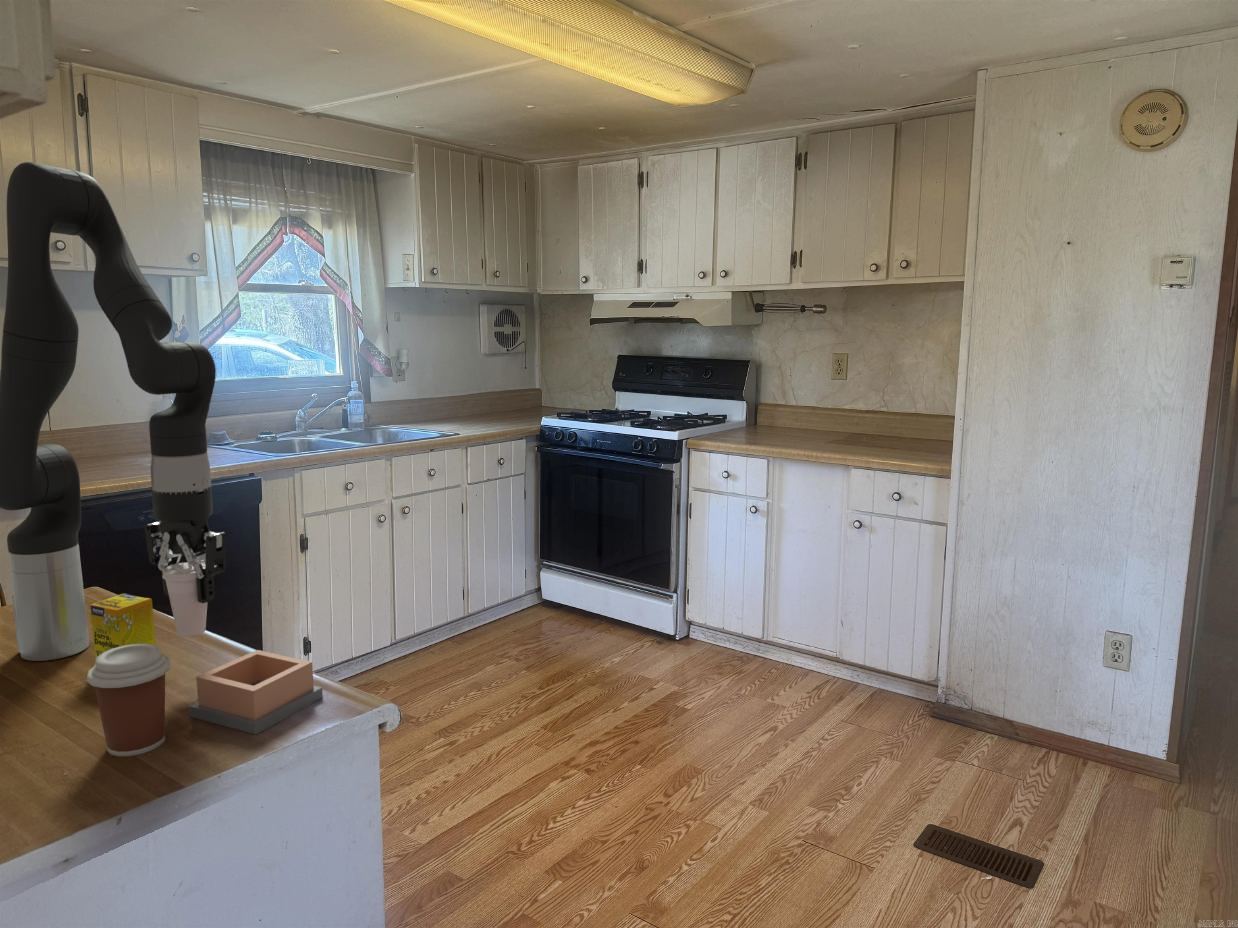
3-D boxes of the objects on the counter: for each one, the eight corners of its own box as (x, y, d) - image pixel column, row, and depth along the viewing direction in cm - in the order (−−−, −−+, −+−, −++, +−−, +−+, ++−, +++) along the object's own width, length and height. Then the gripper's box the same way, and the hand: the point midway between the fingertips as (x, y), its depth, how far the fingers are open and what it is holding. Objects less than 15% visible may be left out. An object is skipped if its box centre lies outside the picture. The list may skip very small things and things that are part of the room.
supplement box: (95, 673, 128) (88, 604, 127) (131, 658, 134) (124, 592, 132) (123, 679, 126) (116, 609, 124) (158, 664, 132) (152, 597, 130)
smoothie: (195, 641, 120) (189, 546, 118) (156, 637, 122) (149, 542, 119) (225, 626, 126) (219, 534, 124) (187, 621, 128) (181, 531, 125)
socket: (190, 716, 115) (186, 677, 114) (260, 682, 126) (257, 646, 125) (255, 734, 110) (252, 694, 109) (322, 697, 121) (320, 660, 120)
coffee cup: (150, 720, 114) (142, 635, 112) (192, 737, 109) (185, 649, 107) (79, 749, 106) (69, 658, 104) (121, 769, 101) (111, 674, 99)
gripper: (122, 483, 120) (131, 597, 123) (194, 495, 114) (202, 613, 117) (169, 475, 126) (177, 582, 129) (240, 485, 121) (246, 597, 124)
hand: (189, 597), depth 123 cm, fingers closed on smoothie, 6 cm apart
